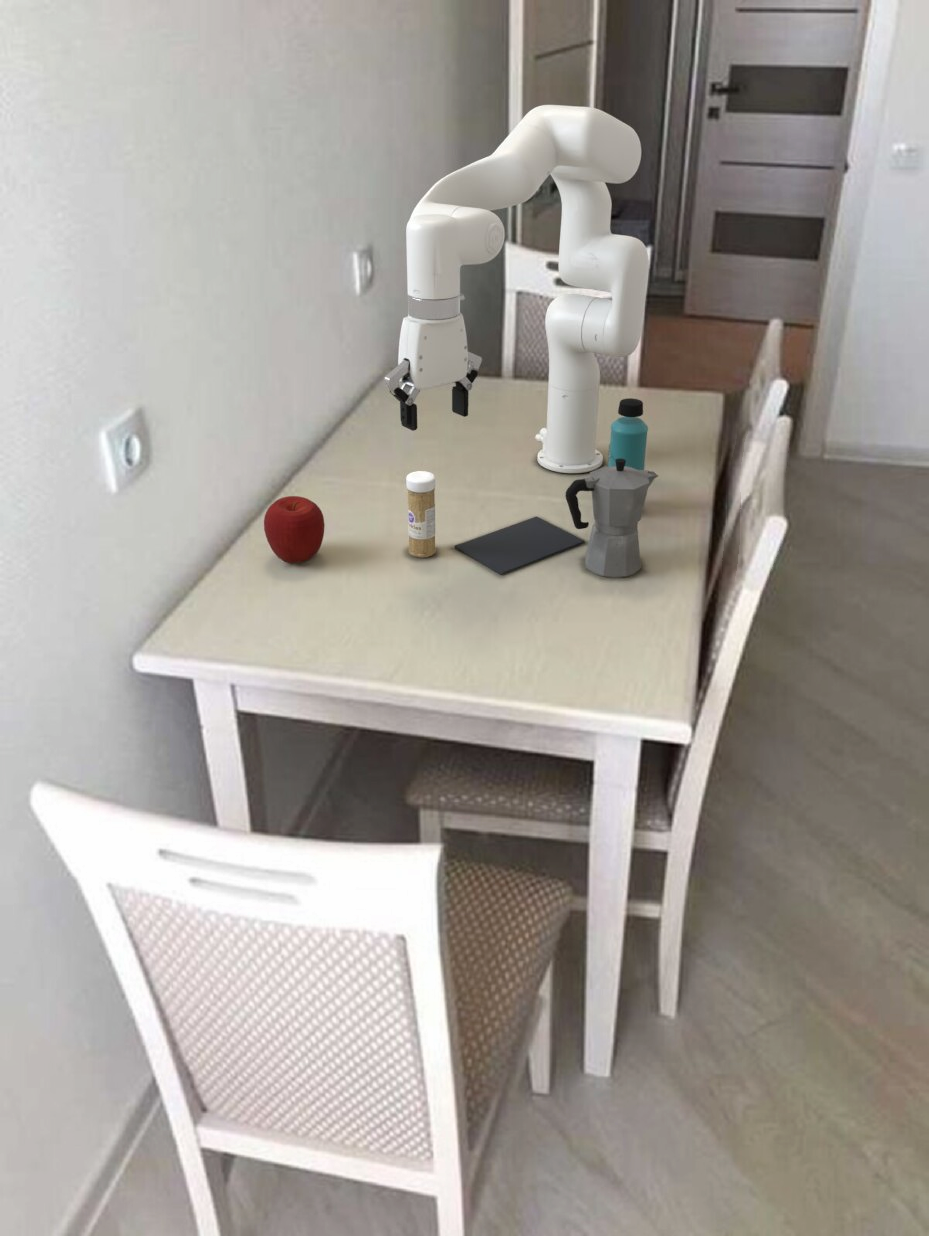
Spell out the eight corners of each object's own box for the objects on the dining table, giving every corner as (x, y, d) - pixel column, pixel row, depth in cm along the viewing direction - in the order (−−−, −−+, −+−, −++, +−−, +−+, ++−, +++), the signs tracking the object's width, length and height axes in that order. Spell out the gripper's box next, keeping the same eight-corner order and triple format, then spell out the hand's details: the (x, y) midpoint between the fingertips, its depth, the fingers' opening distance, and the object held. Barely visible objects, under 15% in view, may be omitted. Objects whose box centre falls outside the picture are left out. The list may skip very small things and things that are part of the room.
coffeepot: (635, 545, 174) (644, 442, 165) (663, 571, 166) (675, 464, 157) (549, 560, 170) (554, 455, 160) (574, 587, 162) (581, 478, 153)
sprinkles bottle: (402, 553, 172) (400, 476, 165) (421, 543, 175) (419, 467, 168) (423, 561, 169) (421, 483, 162) (442, 551, 172) (441, 474, 165)
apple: (278, 577, 165) (272, 518, 160) (259, 552, 172) (253, 495, 167) (335, 563, 169) (331, 506, 164) (314, 539, 176) (309, 484, 171)
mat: (454, 547, 173) (454, 545, 173) (536, 518, 183) (536, 516, 183) (501, 575, 165) (501, 573, 165) (584, 542, 175) (585, 540, 175)
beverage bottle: (644, 505, 188) (654, 396, 177) (637, 520, 182) (647, 409, 172) (608, 500, 189) (616, 392, 179) (600, 515, 184) (608, 404, 174)
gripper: (464, 292, 159) (463, 402, 168) (369, 311, 150) (374, 426, 158) (496, 302, 154) (494, 415, 163) (400, 322, 145) (403, 440, 153)
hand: (435, 420), depth 161 cm, fingers open, 9 cm apart
